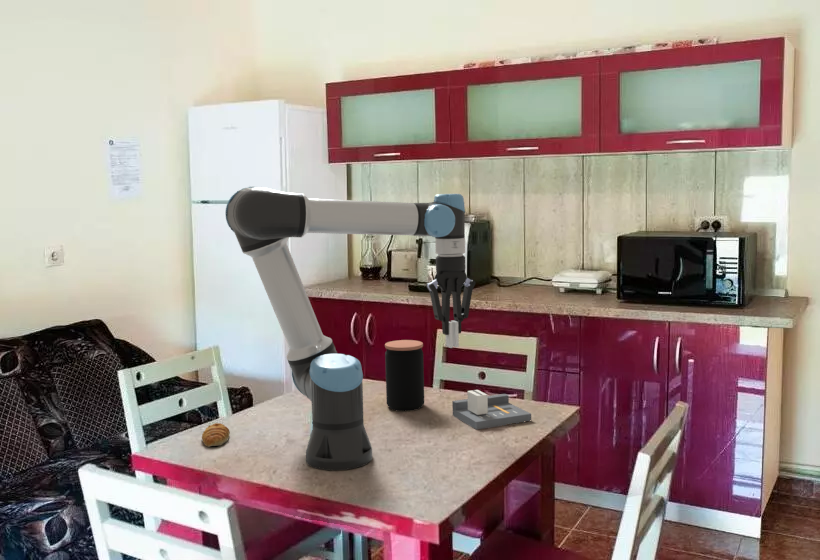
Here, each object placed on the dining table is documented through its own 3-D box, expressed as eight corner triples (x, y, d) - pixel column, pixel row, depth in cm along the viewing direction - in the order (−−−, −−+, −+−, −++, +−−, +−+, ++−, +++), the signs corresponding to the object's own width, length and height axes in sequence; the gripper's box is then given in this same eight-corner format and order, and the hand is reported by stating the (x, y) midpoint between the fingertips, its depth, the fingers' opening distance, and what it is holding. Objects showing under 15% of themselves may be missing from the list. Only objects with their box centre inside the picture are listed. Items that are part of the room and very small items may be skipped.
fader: (477, 414, 212) (477, 395, 211) (467, 409, 217) (467, 390, 216) (487, 413, 213) (487, 394, 212) (477, 408, 218) (477, 389, 217)
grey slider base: (476, 429, 207) (475, 414, 207) (452, 415, 220) (452, 401, 219) (531, 421, 213) (531, 406, 213) (505, 407, 226) (505, 393, 225)
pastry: (228, 447, 199) (227, 432, 198) (200, 449, 198) (198, 434, 197) (230, 435, 208) (229, 421, 208) (203, 438, 207) (202, 423, 206)
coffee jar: (426, 401, 235) (424, 339, 232) (422, 412, 224) (421, 347, 222) (389, 401, 236) (387, 339, 233) (384, 411, 225) (382, 347, 223)
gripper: (431, 257, 201) (433, 352, 204) (481, 254, 206) (483, 346, 209) (419, 255, 208) (421, 346, 211) (468, 252, 213) (470, 341, 216)
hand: (452, 346), depth 210 cm, fingers closed
